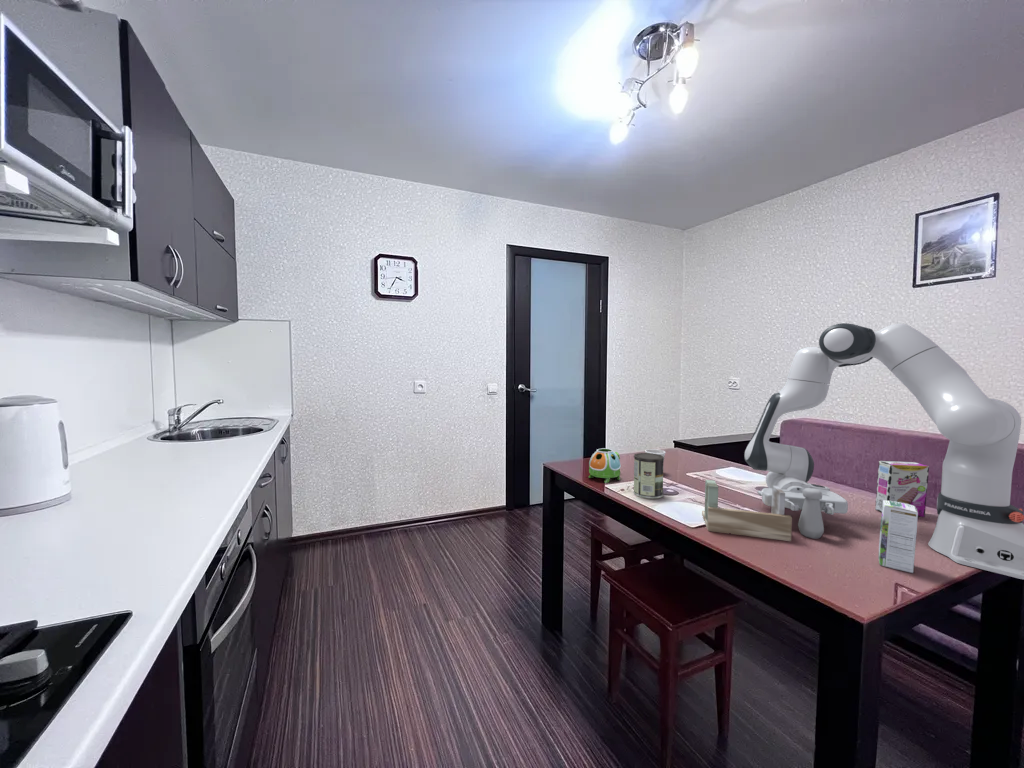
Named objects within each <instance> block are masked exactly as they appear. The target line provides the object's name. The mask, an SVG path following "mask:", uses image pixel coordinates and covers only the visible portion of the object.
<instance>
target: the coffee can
mask: <svg viewBox="0 0 1024 768" xmlns="http://www.w3.org/2000/svg"><path fill="white" fill-rule="evenodd" d="M633 458H634V459H633V460H634V462H633V463H634V464H633V472H634V473H633V492H632V493H633V494H634V495H635V496H637V497H639V498H643V499H650V500H652V499H653V500H654V499H660V498H663V497H664V463H663V462H665V456H664V457H663V456H662V455H658V454H653V453H646V452H638V453H634V454H633Z"/></svg>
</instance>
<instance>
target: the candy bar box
mask: <svg viewBox="0 0 1024 768" xmlns="http://www.w3.org/2000/svg"><path fill="white" fill-rule="evenodd" d="M929 469H930V466H929V465H926V464H923V463H919V462H915V461H913V462H912V461H894V460H893V461H892V460H891V461H890V460H889V461H888V460H878V470H877V486H876V492H875V493H876V496H875V507H874V509H875V510H876V511H877V512H879V513H881V514H882V505H883V500H887V501H895V502H901V503H905V504H909V505H913V506H915V507H916V509H917V512H918V517H922V518H924V517H925V516H926V506H927V505H926V504H927V497H928V495H927V494H928V485H929V472H930V471H929Z"/></svg>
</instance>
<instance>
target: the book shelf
mask: <svg viewBox="0 0 1024 768" xmlns="http://www.w3.org/2000/svg"><path fill="white" fill-rule="evenodd" d="M704 485H705V486H704V487H705V488H704V510H702V511H701V516H703V517H702V518H703V522H704V521H705V522H704V524H705V526H706V529H707V531H708V532H715V533H722V534H729V533H731V534H730V535H739V536H747V537H752V538H753V537H754V538H763V539H770V540H779V541H786V542H792V525H793V517H792V516H791V515H789V514H788V515H787V514H785V510H786V509H785V492H783V491H782V490H781V489H780V488H779V487H778V486H772V506H771V507H770V508H771V509H770V510H771V511H770V512H771V513H770V512H761V511H751V510H744V509H735V508H724V507H719V486H718V483H716V481H715V479H714V480H713V479H705V484H704Z"/></svg>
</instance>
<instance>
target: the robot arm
mask: <svg viewBox="0 0 1024 768" xmlns="http://www.w3.org/2000/svg"><path fill="white" fill-rule="evenodd" d="M873 359H877V360H878V361H880V362H881V363H882V364H883V365H884V366H885V367H886V368H887V369H888V370H889V371H890V373H892V374H893V375H894V376H895V378H897V380H899V381H900V382H901V384H903V386H905V387H906V388H907V389H908V391H910V393H911V394H912V395H913V396H914V397H915V399H916V400H917V401H918V402H919V405H920V406H921V407H922V408H923V410H924V411H925V413H926V414H927V415H928V417H929V418H930V419H931V421H932V422H933V423H934V424H935V426H936V428H937V430H938V431H939V433H940V434H941V435H942V436H943V437H944V438H946V439H948V440H949V442H948V446H947V450H946V453H945V456H944V459H943V461H942V469H941V470H942V472H941V483H940V484H941V486H940V491H939V492H938V495H937V499H936V511H937V513H936V515H937V520H936V523H935V524H936V525H935V527H934V531H933V534H932V535H931V538H930V540H929V541H928V543H927V544H928V546H929V547H930V548H931V549H932V550H934V551H936V552H938V553H939V554H942V555H944V556H945V557H948V558H949V559H951V561H953V562H955V563H957V564H960V565H963V566H968V567H971V568H975V569H980V570H983V571H988V572H991V573H994V574H999V575H1004V576H1008V577H1012V578H1015V579H1020V580H1024V523H1023V522H1024V511H1023V508H1021V507H1020V508H1018V507H1016V506H1015V505H1013V504H1011V495H1012V494H1011V493H1012V483H1013V481H1012V480H1013V470H1014V465H1015V461H1016V456H1017V451H1018V446H1019V440H1020V434H1021V428H1022V417H1021V415H1020V413H1019V411H1018V410H1017V409H1016V408H1015V407H1014V406H1012V405H1011V404H1009V403H1007V402H1006V401H1004V400H1000V399H995V398H990V397H988V396H987V394H985V393H984V392H983V390H982V389H981V388H980V387H979V386H978V384H976V382H974V380H973V378H971V376H970V375H969V374H968V372H967V370H965V368H963V367H962V366H961V365H960V364H959V363H958V362H957V361H956V360H954V359H953V357H951V356H950V355H949V354H948V353H947V352H946V351H945V350H944V349H942V348H941V347H940V346H939V345H938V344H937V343H935V342H934V341H933V340H932V339H931V338H929V337H928V336H927V335H925V334H924V333H922V332H921V331H919V330H917V329H916V328H914V327H912V326H910V325H909V324H907V323H893V324H889V325H887V326H885V327H883V328H881V329H879V330H877V331H876V330H875V331H874V330H873V329H872V328H869V327H866V326H861V325H859V324H855V323H850V322H849V323H847V322H845V323H836V324H833V325H830V326H829V327H826V329H824V331H822V333H821V335H820V336H819V339H818V346H807V347H802V348H801V349H798V350H797V351H796V353H795V355H794V357H793V359H792V360H791V361H792V362H791V364H790V367H789V369H788V372H787V373H788V374H787V377H786V382H785V383H784V386H783V387H782V388H781V390H779V391H778V392H776V393H773V394H772V395H771V396H770V398H769V399H768V401H767V403H766V405H765V407H764V409H763V412H762V414H761V416H760V418H759V421H758V422H757V426H756V428H755V430H754V433H753V435H752V436H751V438H750V440H749V441H748V444H747V446H746V448H745V450H744V461H745V462H746V464H747V465H748V466H749V467H751V469H752V470H755V471H760V472H761V471H762V472H767V474H766V475H765V484H766V486H767V487H763V488H762V489H761V490H757V495H758V496H760V497H761V500H762V503H763V504H764V505H765V506H768V507H772V486H778V487H779V488H780V489H781V490H782V491H783V492H785V508H786V509H790V510H791V511H792V512H793V511H795V512H799V511H800V510H801V511H802V508H803V504H804V501H805V497H804V496H803V490H804V489H805V488H813V489H817V490H820V491H821V492H822V499H820V500H819V501H820V508H821V513H822V512H824V514H827V515H832V516H833V515H834V514H845V515H846V514H847V513H848V509H849V503H848V501H847V500H846V499H845V498H844V497H843V496H841V495H840V494H838V493H836V492H834V491H831V489H830V487H828V486H824V485H820V484H815V483H810V482H809V481H810V480H811V478H812V475H813V473H814V469H815V461H814V459H813V457H812V455H811V453H810V451H808V450H807V449H806V448H805V447H800V446H795V445H790V444H785V443H784V444H783V443H778V442H772V441H770V438H771V436H772V434H773V431H774V430H775V427H776V424H777V422H778V420H779V419H780V417H782V416H783V415H785V414H788V413H792V412H798V411H805V410H809V409H813V408H816V407H818V406H819V405H821V404H822V403H823V402H825V400H826V398H827V395H828V394H829V393H828V392H829V390H830V384H831V379H832V375H833V372H834V370H835V369H836V368H843V367H850V366H858V365H862V364H865V363H867V362H869V361H871V360H873Z"/></svg>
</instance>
